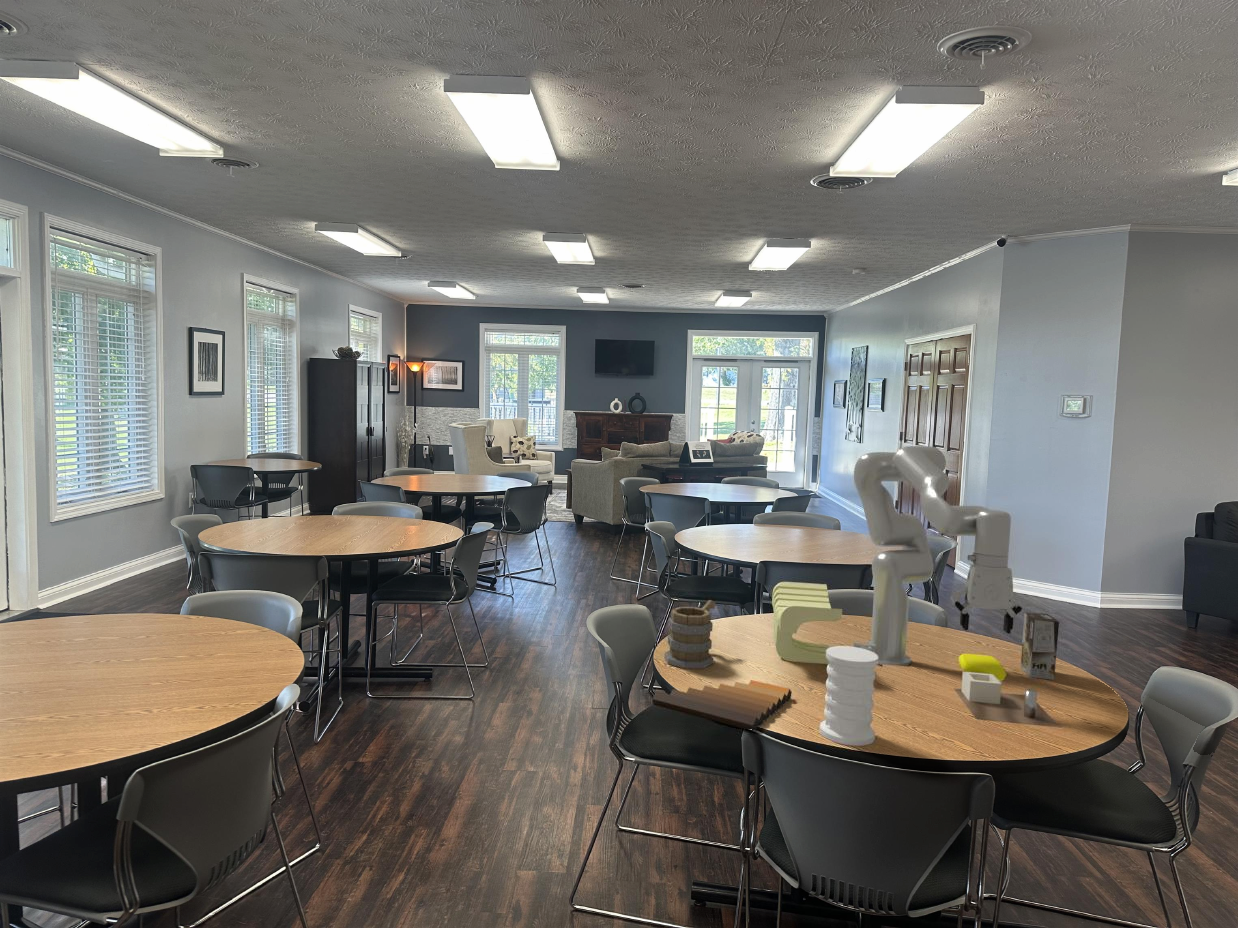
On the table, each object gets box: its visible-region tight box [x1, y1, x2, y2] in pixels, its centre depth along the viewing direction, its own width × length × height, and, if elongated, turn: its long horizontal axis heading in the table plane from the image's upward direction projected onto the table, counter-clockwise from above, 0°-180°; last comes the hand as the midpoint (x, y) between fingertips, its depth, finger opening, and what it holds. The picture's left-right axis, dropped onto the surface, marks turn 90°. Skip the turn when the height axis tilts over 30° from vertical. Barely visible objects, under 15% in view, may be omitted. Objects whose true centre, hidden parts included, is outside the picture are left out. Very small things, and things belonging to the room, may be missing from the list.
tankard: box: [664, 599, 717, 670], centre depth 218 cm, size 20×13×15 cm, turn 143°
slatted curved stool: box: [771, 581, 843, 665], centre depth 225 cm, size 30×16×18 cm, turn 173°
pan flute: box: [652, 679, 793, 731], centre depth 186 cm, size 25×3×25 cm
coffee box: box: [1020, 612, 1060, 681], centre depth 216 cm, size 9×6×16 cm
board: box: [953, 688, 1061, 728], centre depth 187 cm, size 18×20×2 cm
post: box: [1024, 688, 1038, 718], centre depth 181 cm, size 2×2×6 cm
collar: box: [960, 671, 1002, 704], centre depth 192 cm, size 7×7×5 cm
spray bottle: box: [958, 653, 1008, 684], centre depth 212 cm, size 3×11×24 cm
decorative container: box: [819, 645, 879, 747], centre depth 170 cm, size 12×12×18 cm
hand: (985, 630), depth 191 cm, fingers open, 9 cm apart
